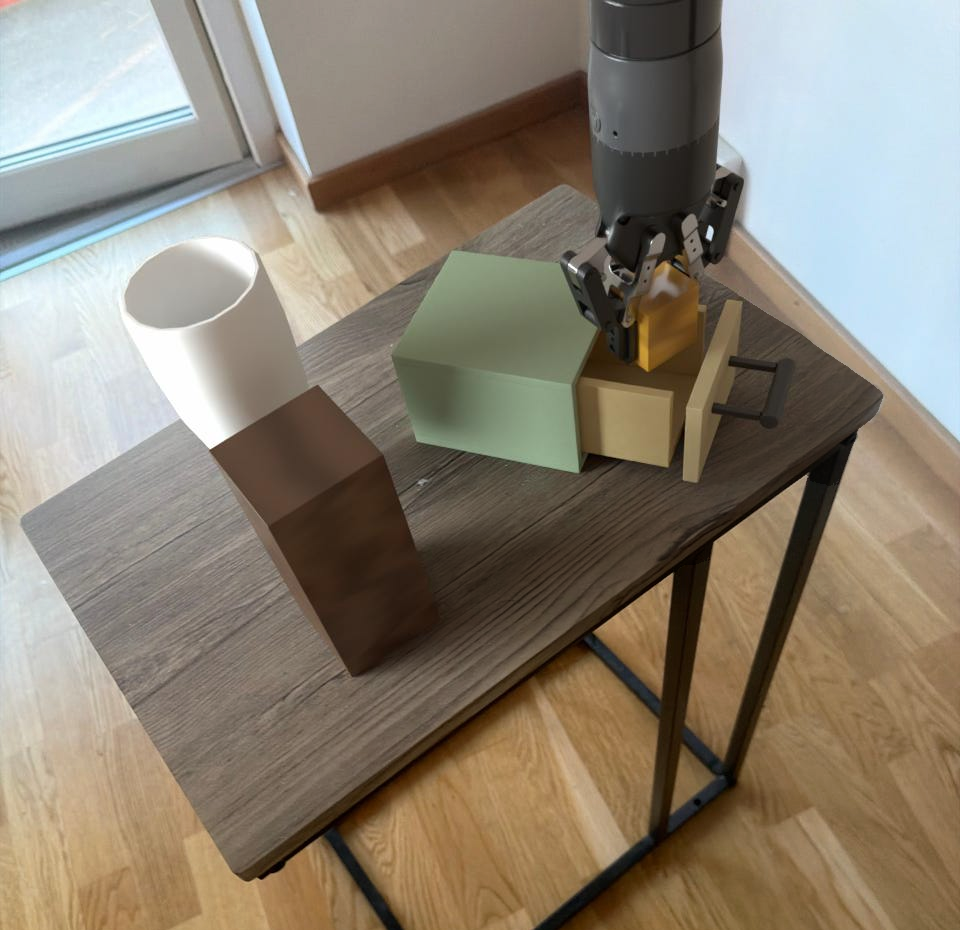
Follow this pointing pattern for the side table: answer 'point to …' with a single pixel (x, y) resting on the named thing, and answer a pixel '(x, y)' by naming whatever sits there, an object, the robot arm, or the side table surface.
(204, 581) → the side table surface
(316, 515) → the stand
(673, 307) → the block
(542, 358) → the cabinet
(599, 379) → the drawer
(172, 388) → the cup
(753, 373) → the side table surface
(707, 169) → the robot arm
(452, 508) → the side table surface
